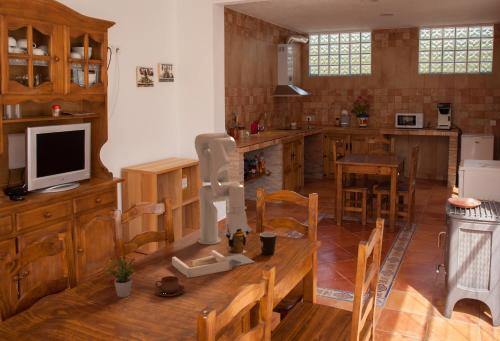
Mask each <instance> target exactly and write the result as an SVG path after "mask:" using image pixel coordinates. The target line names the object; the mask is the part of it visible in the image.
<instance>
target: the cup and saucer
mask: <svg viewBox="0 0 500 341" xmlns="http://www.w3.org/2000/svg"><path fill="white" fill-rule="evenodd" d="M158 283H160V285H159V286H158ZM154 285H155V287H156V288H155V292H156V294H157V295H159V296H162V297H175V296H178V295H181V294H182V293H183V292H184V291H185V286H184V285H183V284H180V282H179V277H178V276H175V275H168V276H163V277H161V279H160V280H156V281H155V284H154ZM163 293H164V294H163ZM165 293H166V294H165Z"/></svg>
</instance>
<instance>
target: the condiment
mask: <svg viewBox="0 0 500 341" xmlns="http://www.w3.org/2000/svg"><path fill="white" fill-rule="evenodd" d="M232 239H233V247H230V249H229V250H225V251H224V252H225V253H227V254H230V255H231V256H233V255H238V254H243V253H246V252H248V251H247V250H245V249H244V245H243V233H242V229H237V230H236V233H235V234H233V237H232Z"/></svg>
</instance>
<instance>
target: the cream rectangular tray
mask: <svg viewBox="0 0 500 341" xmlns="http://www.w3.org/2000/svg"><path fill="white" fill-rule="evenodd" d="M210 256H214V257H216V260H218V263H213V264H208V265H202V266H197V267H192V266H191V267H190V266H189V265H187V264H186V263H184V262H183V261H181V259H180V258H178V257H176V256H173V257H171V265H172V266H173V267H174V268H175V269H176V270H178V272H180V273H182V275H184V276H185V275H186V276H185V277H186V278H188V279H189V277H190V278H194V277H201V276H205V275H210V274H215V273H222V272H225V271H226V272H227V271H231V270H233V267H232V261H231V260H229V259H228V258H226V257H227V256H224V255H222V254H221V253H220V252H217V250H215V249H211V250H210Z"/></svg>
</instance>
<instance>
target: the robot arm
mask: <svg viewBox="0 0 500 341" xmlns="http://www.w3.org/2000/svg"><path fill="white" fill-rule="evenodd" d="M194 148H195V152H196V154H197V159H198V172H199V179H200V181H201V182H202V183H205V184H206V183H207V184H206V185H202V186H200V187H199V188H198V190H197V196H198V200H199V213H200V214H199V215H200V217H199V220H200V233H199V234H200V238H198V240H197V243H198V244H200V245H208V246H210V245H217V244H219V243H221V241H222V239H221V238H220V237H219V220H218V218H219V216H218V208H217V207H216V205H214V203H219V202H225V201H228V212H227V214H226V219H225V228H224V230H222V235H224V236H225V238H227V239H228V241H227V242H228V247H230V248H231V247H233V239H232V237H233V234H235V233H236V230H237V229H242V233H243V246H246V242H247V237H248V235H249V233H250V232H251V231H252V227H251V226H249V225H248V217H247V212H246V211H245V210H247V209H248V208H247V206H245V186H244V185H243V184H240V182H239V181H230V173H229V168H230V166H231V159H230V157H229V154H234V153H235V152H236V151H237V143H236V140H235V138H234V137H232V136H230V135H229V134H227V133H225V132H213V133H211V132H210V133H207V132H206V133H201V134H197V135H196V136H195V138H194ZM208 183H209V184H208Z"/></svg>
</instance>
